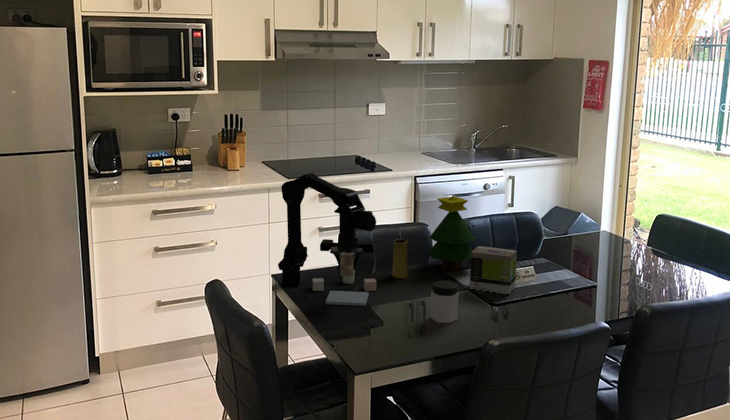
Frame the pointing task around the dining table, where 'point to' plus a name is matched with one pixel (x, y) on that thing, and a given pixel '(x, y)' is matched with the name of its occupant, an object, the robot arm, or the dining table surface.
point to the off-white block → (318, 284)
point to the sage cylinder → (348, 279)
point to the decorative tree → (452, 236)
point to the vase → (400, 259)
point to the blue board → (347, 298)
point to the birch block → (347, 264)
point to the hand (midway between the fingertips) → (347, 269)
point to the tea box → (493, 269)
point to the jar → (444, 302)
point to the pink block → (370, 284)
